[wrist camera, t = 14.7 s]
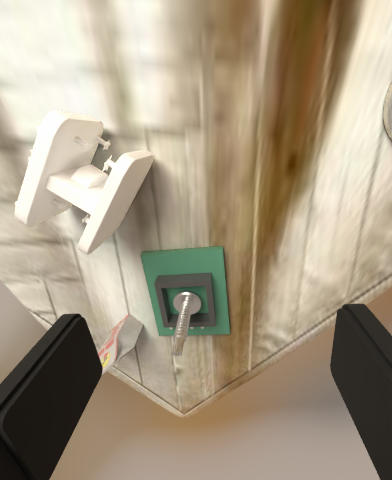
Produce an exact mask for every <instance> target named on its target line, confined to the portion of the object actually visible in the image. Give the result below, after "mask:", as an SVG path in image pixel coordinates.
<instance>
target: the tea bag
mask: <svg viewBox="0 0 392 480" xmlns="http://www.w3.org/2000/svg"><path fill="white" fill-rule="evenodd" d="M142 327H143V323H141V322H140V321H138V320H137V319H136V318H134V317H133V316H132V315H130V314H128V315H127V316H126V317H125V318H124V319H123V320H122V321H121V322H120V323H119V324H118V325H117V326H116V327H115V328H114V329H113V330H112V331H111V332H110V334H109V335H108V337H107V339H106V341H105V342H104V344H103V346H102V348H101V349H100V351H99V353H98V355H99V358H100V361H101V363H102V367H103V371H102V374H103V373H105V372H106V371H107V370H108V369H109V368H110V367H112V366H113V365H114V364H115V363H117V362H118V361H119V360H120V359H121V358H122V357H123V356H125V355H126V354H127V353H128V352H129V351H130V350H131V349H133V348H134V346H135V343H136V341H137V339H138V336H139V334H140V331H141V329H142Z"/></svg>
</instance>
